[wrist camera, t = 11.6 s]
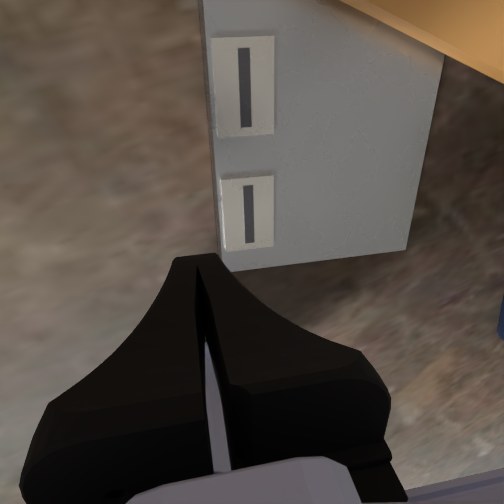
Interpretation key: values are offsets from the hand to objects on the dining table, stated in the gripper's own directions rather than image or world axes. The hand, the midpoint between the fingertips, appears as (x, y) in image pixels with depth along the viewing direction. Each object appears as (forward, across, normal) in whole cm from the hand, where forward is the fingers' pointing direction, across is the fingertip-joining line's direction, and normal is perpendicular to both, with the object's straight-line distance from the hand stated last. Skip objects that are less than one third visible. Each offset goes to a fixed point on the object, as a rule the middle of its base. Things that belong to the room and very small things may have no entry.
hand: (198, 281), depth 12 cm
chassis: (+10, -7, -2) cm, 13 cm away
